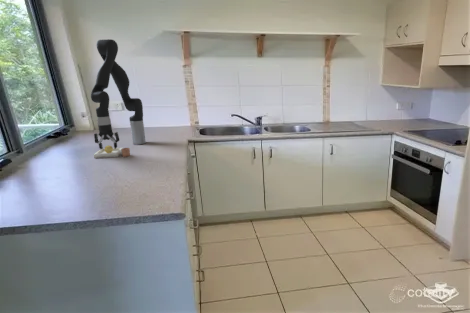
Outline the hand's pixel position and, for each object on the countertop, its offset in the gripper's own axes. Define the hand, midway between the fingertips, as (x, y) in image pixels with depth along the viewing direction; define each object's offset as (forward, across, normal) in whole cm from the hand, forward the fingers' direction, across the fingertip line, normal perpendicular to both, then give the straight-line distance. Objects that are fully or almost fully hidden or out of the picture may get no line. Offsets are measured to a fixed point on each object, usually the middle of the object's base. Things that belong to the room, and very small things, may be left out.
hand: (108, 148), depth 177 cm
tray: (+4, 0, 0) cm, 4 cm away
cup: (+4, -12, +6) cm, 14 cm away
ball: (0, 0, 0) cm, 0 cm away
